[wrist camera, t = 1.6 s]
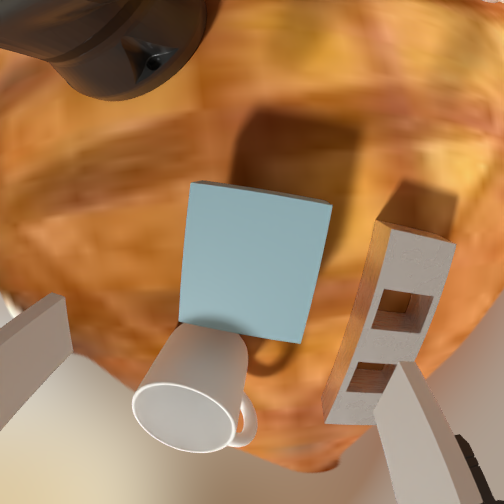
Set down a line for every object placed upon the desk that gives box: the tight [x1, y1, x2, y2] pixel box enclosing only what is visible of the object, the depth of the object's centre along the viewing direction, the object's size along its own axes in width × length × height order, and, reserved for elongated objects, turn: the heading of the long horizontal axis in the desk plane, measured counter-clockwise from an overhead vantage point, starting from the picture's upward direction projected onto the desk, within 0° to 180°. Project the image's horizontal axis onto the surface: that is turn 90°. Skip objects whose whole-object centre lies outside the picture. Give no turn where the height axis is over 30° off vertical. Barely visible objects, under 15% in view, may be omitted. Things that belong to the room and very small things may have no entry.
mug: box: [132, 323, 257, 453], centre depth 25 cm, size 12×8×10 cm
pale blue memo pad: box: [179, 180, 333, 344], centre depth 23 cm, size 10×9×6 cm
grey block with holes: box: [321, 220, 456, 425], centre depth 25 cm, size 20×6×4 cm, turn 171°
